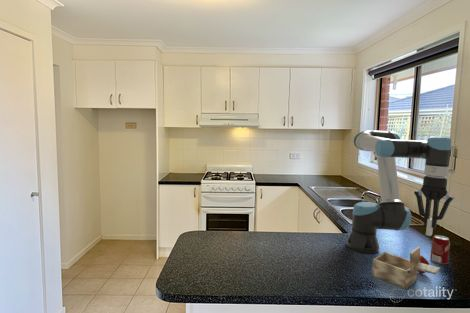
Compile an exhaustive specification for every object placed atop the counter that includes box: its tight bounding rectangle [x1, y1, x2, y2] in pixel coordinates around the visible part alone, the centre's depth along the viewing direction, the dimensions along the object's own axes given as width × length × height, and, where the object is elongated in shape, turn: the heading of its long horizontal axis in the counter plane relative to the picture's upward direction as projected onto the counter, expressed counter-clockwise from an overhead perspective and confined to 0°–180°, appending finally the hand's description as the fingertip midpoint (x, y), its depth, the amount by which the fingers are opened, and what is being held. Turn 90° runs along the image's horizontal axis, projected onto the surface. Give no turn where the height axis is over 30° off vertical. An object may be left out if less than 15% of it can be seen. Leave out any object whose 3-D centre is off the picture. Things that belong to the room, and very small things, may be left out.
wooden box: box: [371, 251, 419, 290], centre depth 114 cm, size 14×12×8 cm
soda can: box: [429, 234, 451, 265], centre depth 130 cm, size 7×7×12 cm
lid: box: [409, 246, 441, 275], centre depth 106 cm, size 7×10×8 cm
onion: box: [417, 254, 430, 275], centre depth 118 cm, size 6×6×8 cm
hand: (428, 234), depth 111 cm, fingers closed
